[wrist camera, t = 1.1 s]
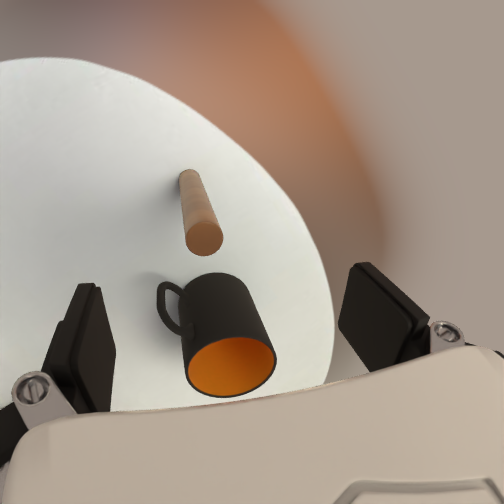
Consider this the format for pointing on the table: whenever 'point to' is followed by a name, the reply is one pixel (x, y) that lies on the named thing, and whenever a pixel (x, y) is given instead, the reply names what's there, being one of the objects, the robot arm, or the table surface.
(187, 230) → the stick
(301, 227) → the table surface
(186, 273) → the table surface
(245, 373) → the mug
